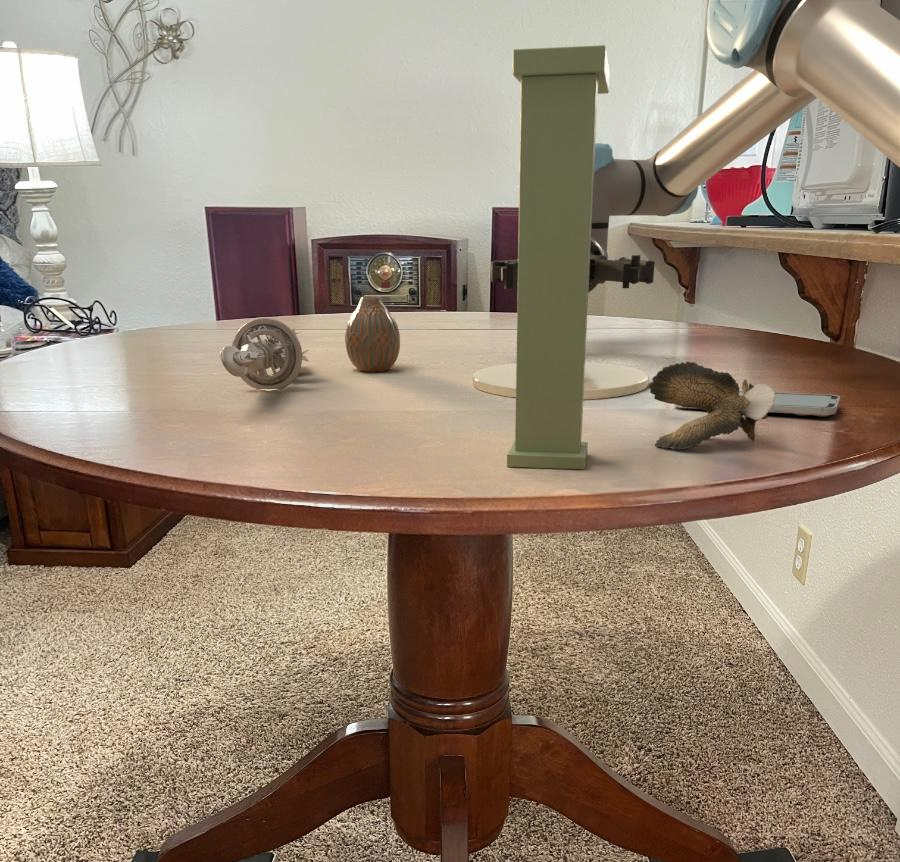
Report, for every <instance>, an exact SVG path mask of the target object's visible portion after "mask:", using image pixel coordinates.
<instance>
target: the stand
mask: <svg viewBox="0 0 900 862" xmlns="http://www.w3.org/2000/svg"><path fill="white" fill-rule="evenodd" d="M512 75H513V77H514V78H515V79H516V80H517V81H518V83H520V121H519V122H520V125H519V129H520V130H519V180H518V181H519V183H518V184H519V187H518V239H517V242H518V245H517V260H518V285H517V299H516V301H517V302H516V303H517V304H516V305H517V306H516V308H517V309H516V310H517V311H516V358H515V359H516V361H515V363H516V397H515V417H514V418H515V419H514V420H515V423H514V424H515V425H514V428H515V429H514V440H513V442H512V444H511V446H510V448H509V450H508V452H507V454H506V468H507V467H508V468H529V469H530V468H531V469H557V470H585V469H586V463H587V457H588V451H589V450H588V449H589V442H588V441H582V436H583V435H582V434H583V433H582V432H583V413H584V400H583V394H584V373H585V362H586V352H587V351H586V350H587V348H586V347H587V329H588V328H587V327H588V307H589V306H588V305H589V293H588V287H589V266H590V245H591V223H592V202H593V181H594V159H595V143H596V136H597V135H596V134H597V133H596V132H597V115H598V95H601V94H603V95H604V94H609V92H610V75H611V72H610V66H609V59H608V53H607V48H606V45H605V44H601V45H600V44H599V45H579V46H577V45H576V46H559V47H558V46H557V47H555V46H554V47H535V48H516V49H513V50H512Z"/></svg>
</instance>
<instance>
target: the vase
mask: <svg viewBox="0 0 900 862" xmlns="http://www.w3.org/2000/svg"><path fill="white" fill-rule="evenodd" d="M344 344H345V350H346V353H347V357H348V359H349V361H350V363H351V364H352V365H353V366H354V367H355V368H356V369H357V370H358V371H360V372H366V373H367V372H369V373H376V372H385V371H389V370H390V369H392V367H393V366H394V365H395V364H396V362H397V360H398V358H399V354H400V349H401V335H400V330H399V325H398V323H397V321H396V319H395V318H394V316H393V315H392V314H391V312H390V311H389V310H388V309H387V307H386V306H385V304H384V302H383V300H382V297H380V296H377V295H375V296H373V295H370V296H361V298H360V299H359V302H358V305H357V307H356V309H355V310H354V311H353V312H352V314H351V316H350V318H349V319H348V321H347V324H346V328H345V334H344Z"/></svg>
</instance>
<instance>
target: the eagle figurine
mask: <svg viewBox="0 0 900 862" xmlns="http://www.w3.org/2000/svg"><path fill="white" fill-rule="evenodd" d="M651 380H652V381H651V382H650V383H648V386H647V389H650V390H649V393H650V394H651V395H654V397H653V399H654V400H656V401H659V402H661V403H666V404H670V405H674V404H675V405H680V406H682V407H692V408H691V409H697V408H699V410H703V411H705V412H706V413H707V414H706V415H703V416H701V417H697V418H696V419H692V420H690V421H688V422H686V423H683V424H681V426H679V427H678V428H677V429H675V430H674V431H673V432H671V433H668V434H665V435H662V436H660V437H658V439H657V440H656V441H655V443H654V446H656V448H662V449H670V448H671V450H675V449H678V450H684V449H688V448H692V447H694V446H696V445H700V444H702V443H703V442H705V441H708V440H710V439H711V438H714V437H716V436H720V435H730V434H732V433H734V432H735V431H738V430H739V428H741V430H742V431H743V433H745V434H746V435H747V438H748V439H749V440H751V441H752V442H754V441H755V439H756V433H755V432H756V431H755V430H756V429H755V428H756V422H757V421H761V420H766V419H768V415H767V414H768V413H770V412H769V411H770V410H771V409H772V408H773V406H774V401H775V399H776V396H775V392H776V391H774V389H773V388H772V387H771V386H769V385H768V384H765V383H763V382H759V383H756V384H755V385H753V384H752V383H748V380H747V379H742V382H741V387H739V383H738V382H737V381H736V380H735V378H734V377H733V376H732V375H731V374H730V373H729V372H723V371H721V372H719V371H718V370H713V369H712V368H708V367H704V366H702V365H698V363H696V362H695V361H691V362H690V361H686V362H680V363H678V362H677V363H675V364H670V365H669V366H663V368H662V370H659V371H658V372H657V373H656V375H654V376H653V377H652V378H651ZM740 388H741V391H743V396H739V391H740Z"/></svg>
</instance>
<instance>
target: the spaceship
mask: <svg viewBox="0 0 900 862" xmlns="http://www.w3.org/2000/svg"><path fill="white" fill-rule="evenodd" d="M301 333H302V332H300V334H301ZM298 334H299V332H296V330H295V327H293V328H291V327H289V326H288V325H287V324H285V323H284V322H282V321H280V320H279V319H276V318H272V317H257V318H253V319H251V320H249V321H247V322H246V323H244V324H243V325H242V326H241V327H240V328H239V329H238V330H237V332H236V333H235V335H234V338H233V340H232V344H231V345H226V346H224V347H222V349H221V350H220V352H219V354H220V355H219V358H220V361H221V363H222V366H223V368H224V369H225V370H226V371H227V372H228V373H229V374H230V375H231V376H234V377H237V378H240V379H241V380H242V381H243V382H244V383H245V384H246V385H248V386H250V387H251V388H253V389H255V388H256V389H255V390H258V389H280V390H283V389H285V388H287V387H288V386H290V384H292V383H293V382H294V380H296V378H297V377H298V375H299V373H300V371H301V367H302V364H303V361H305V362H310V360H309V358H308V357H307V356H306V355H305V354H306V353H307V352H308V349H305V350H304V351H303V350H302V349H303V348H302V346H301V343H300V340H299V338H298V336H297V335H298ZM261 336H265V337H266V338H263V339H262V338H261ZM255 338H256V339H257V342H256V341H253V340H254V339H255ZM278 369H279V370H278ZM268 370H269V371H272V373H273V374H268V372H267V371H268ZM276 370H278V371H276Z"/></svg>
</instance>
